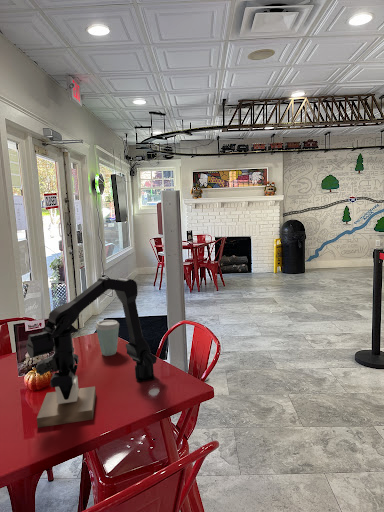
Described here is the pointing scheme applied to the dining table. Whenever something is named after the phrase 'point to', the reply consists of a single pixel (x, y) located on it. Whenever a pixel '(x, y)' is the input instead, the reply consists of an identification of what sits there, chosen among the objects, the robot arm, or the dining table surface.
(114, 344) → the disposable coffee cup
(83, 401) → the walnut base
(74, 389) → the cream cube
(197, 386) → the dining table surface
